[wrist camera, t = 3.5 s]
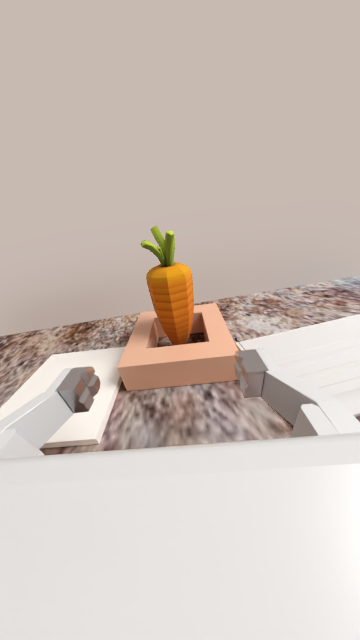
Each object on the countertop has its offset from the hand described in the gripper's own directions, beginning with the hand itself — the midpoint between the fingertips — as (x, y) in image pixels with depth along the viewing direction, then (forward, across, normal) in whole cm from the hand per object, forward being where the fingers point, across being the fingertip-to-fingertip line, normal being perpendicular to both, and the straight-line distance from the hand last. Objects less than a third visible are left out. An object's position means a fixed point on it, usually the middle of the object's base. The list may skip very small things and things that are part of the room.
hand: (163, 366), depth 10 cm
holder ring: (+11, 0, +8) cm, 14 cm away
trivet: (+6, +13, +8) cm, 16 cm away
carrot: (+11, 0, +8) cm, 14 cm away
